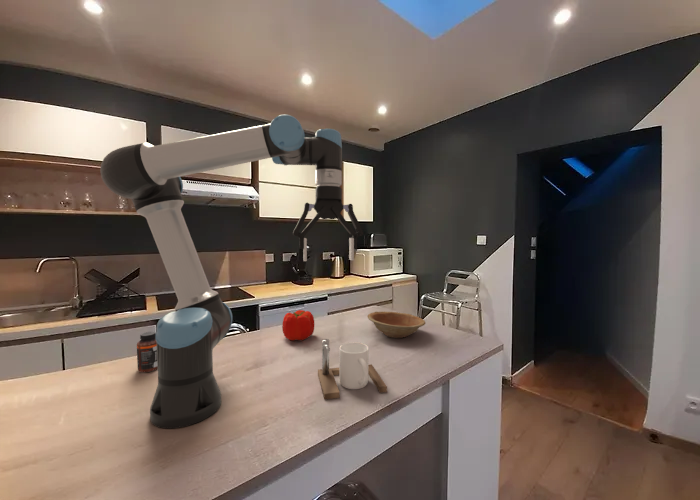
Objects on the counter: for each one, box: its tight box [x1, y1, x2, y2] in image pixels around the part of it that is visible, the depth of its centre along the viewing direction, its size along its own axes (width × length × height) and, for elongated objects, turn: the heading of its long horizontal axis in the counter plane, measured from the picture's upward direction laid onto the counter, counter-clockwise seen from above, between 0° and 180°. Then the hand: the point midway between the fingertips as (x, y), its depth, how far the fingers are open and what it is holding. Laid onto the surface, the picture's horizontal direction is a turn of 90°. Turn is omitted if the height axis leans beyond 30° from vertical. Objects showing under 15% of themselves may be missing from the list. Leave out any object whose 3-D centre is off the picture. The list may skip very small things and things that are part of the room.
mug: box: [338, 341, 370, 390], centre depth 85 cm, size 12×8×10 cm
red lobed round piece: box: [281, 309, 315, 342], centre depth 123 cm, size 14×13×10 cm
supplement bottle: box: [136, 331, 158, 373], centre depth 95 cm, size 6×6×11 cm
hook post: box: [321, 338, 331, 375], centre depth 87 cm, size 2×6×10 cm, turn 13°
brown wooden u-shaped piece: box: [317, 363, 388, 400], centre depth 87 cm, size 17×14×2 cm
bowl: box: [367, 311, 426, 339], centre depth 127 cm, size 24×24×8 cm
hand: (328, 260), depth 88 cm, fingers open, 13 cm apart
